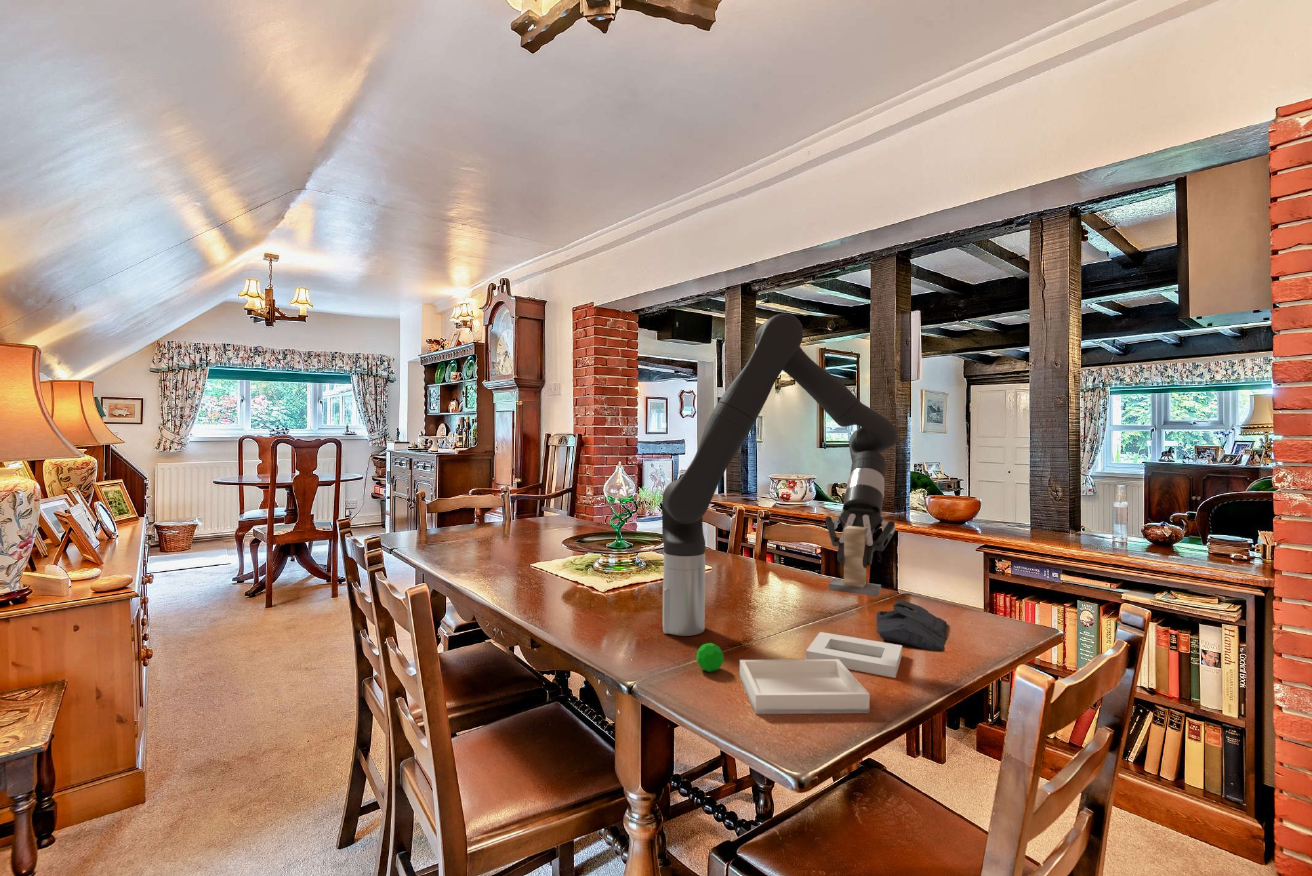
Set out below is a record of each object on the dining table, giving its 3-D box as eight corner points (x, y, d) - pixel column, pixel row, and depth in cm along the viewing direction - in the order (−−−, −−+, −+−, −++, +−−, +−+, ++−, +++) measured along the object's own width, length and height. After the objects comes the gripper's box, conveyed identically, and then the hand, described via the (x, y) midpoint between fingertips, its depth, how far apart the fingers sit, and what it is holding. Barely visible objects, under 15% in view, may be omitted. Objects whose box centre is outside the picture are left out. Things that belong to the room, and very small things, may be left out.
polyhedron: (690, 669, 108) (691, 644, 108) (708, 662, 112) (708, 637, 112) (711, 678, 105) (711, 651, 105) (728, 670, 108) (729, 644, 108)
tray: (755, 714, 91) (755, 695, 91) (739, 676, 105) (739, 659, 105) (869, 713, 92) (869, 694, 92) (838, 675, 106) (838, 659, 106)
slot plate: (806, 661, 113) (806, 650, 113) (819, 641, 123) (820, 631, 123) (895, 678, 105) (895, 667, 105) (902, 655, 116) (902, 645, 116)
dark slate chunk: (865, 643, 124) (866, 620, 124) (878, 614, 143) (878, 594, 143) (946, 656, 117) (947, 632, 117) (948, 624, 136) (948, 603, 136)
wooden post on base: (828, 590, 114) (829, 527, 114) (833, 584, 118) (834, 524, 118) (877, 596, 110) (878, 531, 110) (880, 590, 114) (881, 528, 114)
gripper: (827, 481, 124) (813, 549, 113) (899, 485, 117) (891, 557, 106) (832, 503, 128) (818, 570, 118) (901, 508, 122) (894, 579, 111)
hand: (853, 564), depth 112 cm, fingers closed on wooden post on base, 3 cm apart
